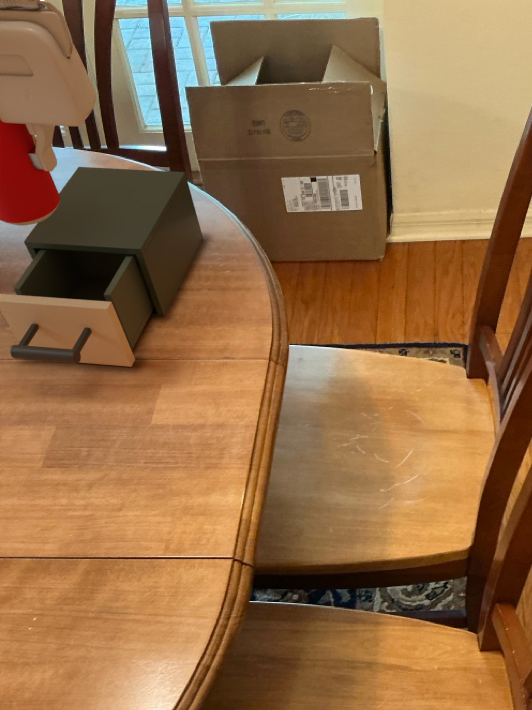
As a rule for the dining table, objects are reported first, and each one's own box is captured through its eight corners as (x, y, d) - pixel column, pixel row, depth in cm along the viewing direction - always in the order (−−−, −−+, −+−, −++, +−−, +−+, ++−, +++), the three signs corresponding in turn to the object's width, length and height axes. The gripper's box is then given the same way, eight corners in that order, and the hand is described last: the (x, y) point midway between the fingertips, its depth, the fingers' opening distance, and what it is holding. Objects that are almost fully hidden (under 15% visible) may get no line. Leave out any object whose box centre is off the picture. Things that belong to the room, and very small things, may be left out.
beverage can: (61, 188, 76) (6, 55, 66) (65, 222, 72) (8, 87, 62) (-5, 201, 75) (-70, 68, 65) (-4, 236, 71) (-73, 101, 61)
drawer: (115, 397, 82) (89, 340, 76) (8, 388, 84) (-27, 331, 77) (173, 285, 93) (154, 227, 87) (77, 279, 95) (51, 221, 88)
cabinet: (165, 320, 91) (140, 248, 83) (58, 312, 92) (23, 241, 85) (204, 243, 100) (185, 171, 92) (105, 237, 101) (78, 166, 94)
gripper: (71, -24, 59) (128, 153, 70) (-170, -31, 61) (-77, 142, 73) (37, 10, 56) (103, 191, 67) (-218, 1, 58) (-112, 178, 69)
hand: (8, 165), depth 70 cm, fingers closed on beverage can, 6 cm apart
